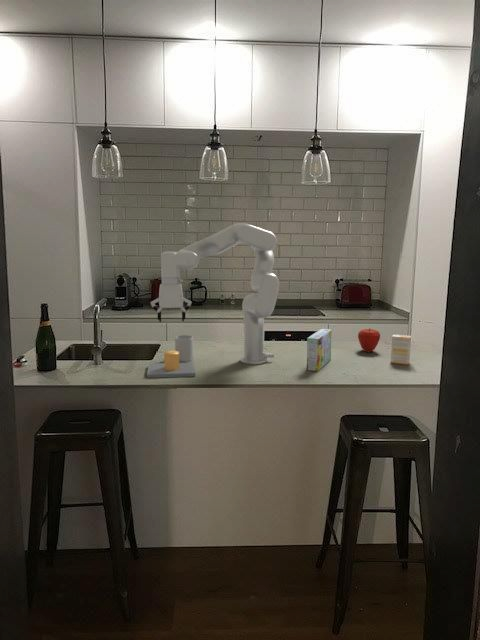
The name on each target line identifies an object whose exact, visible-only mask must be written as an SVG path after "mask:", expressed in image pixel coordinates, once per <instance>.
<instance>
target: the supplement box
mask: <svg viewBox="0 0 480 640" xmlns="http://www.w3.org/2000/svg"><path fill="white" fill-rule="evenodd" d="M411 342H412V335H405V334H404V335H403V334H397V333H396V334H392V336H391V348H390V349H391V350H390V364H398V365H406V366H409V365H410V363H411V361H410V360H411V346H412V345H411V344H412V343H411Z"/></svg>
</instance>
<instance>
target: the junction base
mask: <svg viewBox="0 0 480 640" xmlns="http://www.w3.org/2000/svg"><path fill="white" fill-rule="evenodd" d="M195 369H196V366H195V362H179V369H177V370H165V369H164V362H159V363H149V364H148V367H147V371H146V378H147V379H151V378H185V377H186V378H187V377H188V378H191V377H193V376H194V377H196V370H195Z"/></svg>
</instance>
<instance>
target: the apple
mask: <svg viewBox="0 0 480 640" xmlns="http://www.w3.org/2000/svg"><path fill="white" fill-rule="evenodd" d="M357 338H358V339H357V340H358V342H359V344H360V347H361V349H362V350H363V351H364V352H368V353H370V352H371V353H372V352H373V351H374V350H375V349H376V348H377V346H378V344H379V342H380V339H381V333H380V331H378V330H376V329H372V328H365V329H360V331H359V332H358V335H357Z"/></svg>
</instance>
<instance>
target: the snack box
mask: <svg viewBox="0 0 480 640" xmlns="http://www.w3.org/2000/svg"><path fill="white" fill-rule="evenodd" d="M331 360H332V329H330V328H329V329H328V328H320V329H319V330H317V331H316V332H314V333H313V334H311V335H310V336H309V337H307V338H306V371H311V372H319V371H320V370H322V368H323V367H324V366H325V365H327V364H328V363H329V362H330V361H331Z"/></svg>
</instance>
